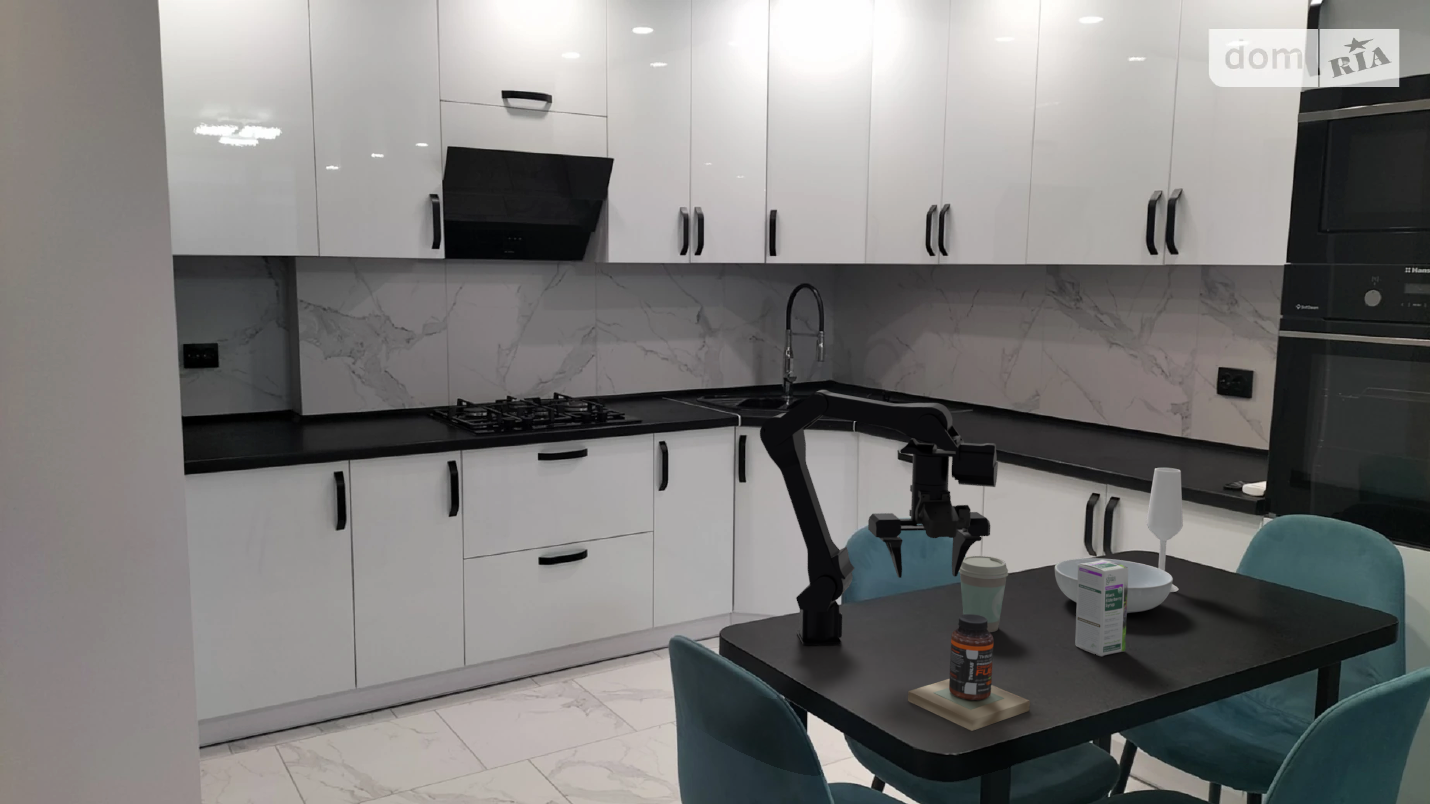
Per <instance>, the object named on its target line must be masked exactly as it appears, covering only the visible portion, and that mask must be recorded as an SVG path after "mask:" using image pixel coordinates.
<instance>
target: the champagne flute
mask: <svg viewBox="0 0 1430 804" xmlns="http://www.w3.org/2000/svg"><path fill="white" fill-rule="evenodd" d="M1182 495H1183V494H1182V471H1181V470H1180V469H1177V468H1172V467H1157V468H1156V467H1155V468H1154V472H1153V478H1152V484H1151V491H1150V497H1149V502H1148V509H1147V515H1146V521H1145V523H1146V526H1147V529H1149V531H1150V532H1151V533H1152V534H1153V536H1155V538H1157V539H1158V540H1159V555H1158V568H1159V569H1161V570H1163V571H1165V572H1166V557H1167V555H1166V554H1167V553H1166V552H1167V541H1168V540H1171V539H1172V538H1174V537H1175V536H1176V535H1178V534H1179V533H1180V531H1181V530H1182V528H1183V526H1184V523H1183V522H1184V521H1183V520H1184V519H1183V517H1184V516H1183V498H1182V497H1183V496H1182ZM1177 591H1179V588H1178V586H1176V585H1174V584H1173V583H1172V587H1171V590H1170V592H1169V593H1174V592H1177Z"/></svg>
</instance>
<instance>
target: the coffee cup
mask: <svg viewBox="0 0 1430 804" xmlns="http://www.w3.org/2000/svg"><path fill="white" fill-rule="evenodd" d="M958 573H959V575H960V576H959V577H960V588H961V589H960V591H961V601H962V603H961V604H962V615H964V614H975V615H980V616H983V617H985V618H987V620H988V625H987V626H988V628H987V630H988V631H989V633H994V632H996V631H998V630H999V626H1000V618H1001V614H1002V606H1003V602H1004V601H1003V599H1004V594H1005V587H1006V581H1007V577H1008V576H1009V569H1008V567H1007V563H1006V561H1004V560H1003V559H1000V558H998V557H993V556H986V555H970V556H965V558H964V560H963V562H962V565H961V567H960V570H959V572H958Z"/></svg>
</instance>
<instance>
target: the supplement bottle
mask: <svg viewBox="0 0 1430 804" xmlns="http://www.w3.org/2000/svg"><path fill="white" fill-rule="evenodd" d="M957 625H958V628H956V629H955V630H953V632H951V637H950V639H951V640H950V662H949V678H948V679H949V690H950V692H951V693H952V694H953V695H955V696H956V697H959V698H962V699H965V700H975V701H976V700H983V699H986V698H988V697H989V696H990V694H991V685H993V683H992V680H993V658H994V657H993V656H994V637H993V634H992V633H991V632H989V631H988V630H987V628H988V626H987V625H988V620H987V618H985V617H983V616H980V615H975V614H964V615H963V614H961V615H960V616H958V623H957Z"/></svg>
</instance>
